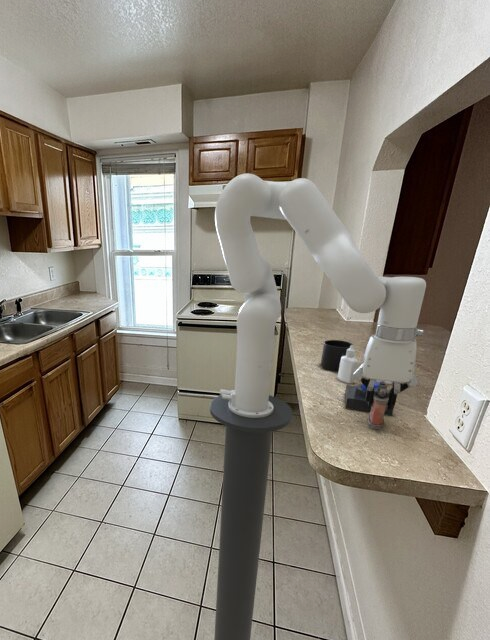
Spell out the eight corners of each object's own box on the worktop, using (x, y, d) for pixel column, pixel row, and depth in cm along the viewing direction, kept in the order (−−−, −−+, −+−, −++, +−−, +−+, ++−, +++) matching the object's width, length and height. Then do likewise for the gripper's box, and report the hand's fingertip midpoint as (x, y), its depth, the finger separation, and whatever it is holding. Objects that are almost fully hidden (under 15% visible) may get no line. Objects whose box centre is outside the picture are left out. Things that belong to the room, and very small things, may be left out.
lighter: (383, 430, 84) (392, 392, 81) (367, 427, 86) (375, 389, 82) (383, 416, 91) (391, 380, 87) (367, 413, 92) (375, 377, 89)
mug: (326, 374, 121) (330, 349, 118) (317, 362, 132) (320, 339, 129) (355, 375, 120) (360, 349, 117) (343, 363, 131) (347, 340, 128)
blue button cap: (362, 391, 96) (363, 384, 96) (361, 385, 100) (362, 379, 99) (378, 393, 95) (380, 386, 94) (377, 387, 98) (378, 381, 98)
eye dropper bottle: (340, 383, 113) (346, 347, 109) (336, 377, 118) (342, 342, 114) (355, 384, 112) (361, 348, 108) (350, 378, 118) (357, 343, 113)
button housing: (345, 408, 97) (348, 391, 95) (344, 394, 105) (347, 379, 104) (391, 415, 93) (395, 398, 91) (387, 400, 101) (390, 384, 99)
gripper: (434, 332, 80) (415, 405, 86) (353, 326, 87) (341, 394, 93) (443, 340, 74) (422, 418, 80) (354, 333, 80) (341, 405, 87)
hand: (379, 404), depth 86 cm, fingers closed on lighter, 3 cm apart
